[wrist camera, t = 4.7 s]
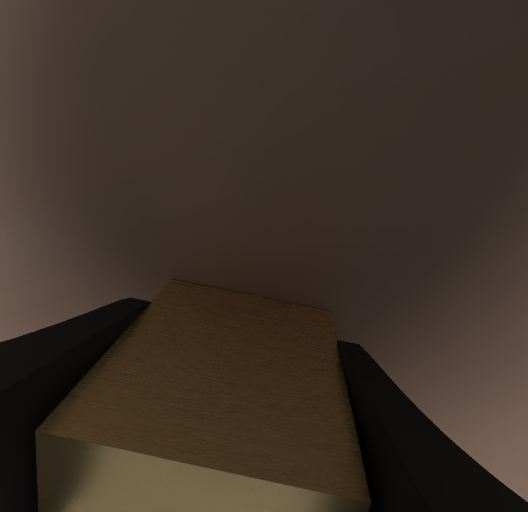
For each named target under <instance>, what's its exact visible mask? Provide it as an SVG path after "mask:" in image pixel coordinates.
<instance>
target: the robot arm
mask: <svg viewBox="0 0 528 512" xmlns="http://www.w3.org/2000/svg"><path fill="white" fill-rule="evenodd" d="M150 304H151V302H149V301H145V300H140V299H135V298H126V299H123V300H120V301H117V302H114V303H111V304H109V305H106V306H103V307H101V308H98V309H95V310H93V311H90V312H88V313H85V314H82V315H80V316H77V317H74V318H72V319H69V320H66V321H64V322H61V323H58V324H55V325H52V326H49V327H46V328H43V329H41V330H38V331H35V332H32V333H29V334H26V335H23V336H20V337H17V338H14V339H10V340H7V341H4V342H0V512H38V487H37V461H36V436H35V431H36V429H37V428H38V427H39V426H40V425H41V424H42V423H43V422H44V421H45V419H46V418H47V417H48V416H49V415H50V414H51V413H52V412H53V411H54V409H55V408H56V407H57V406H58V405H59V404H60V403H61V402H62V401H63V399H64V398H65V397H66V396H67V395H68V394H69V393H70V392H71V391H72V389H73V388H74V387H75V386H76V385H77V384H78V383H79V382H80V381H81V379H82V378H83V377H84V376H85V375H86V374H87V373H88V372H89V371H90V369H91V368H92V367H93V366H94V365H95V364H96V363H97V362H98V361H99V359H100V358H101V357H102V356H103V355H104V354H105V353H106V352H107V351H108V349H109V348H110V347H111V346H112V345H113V344H114V343H115V342H116V341H117V339H118V338H119V337H120V336H121V335H122V334H123V333H124V332H125V331H126V330H127V328H128V327H129V326H130V325H131V324H132V323H133V322H134V321H135V320H136V319H137V318H138V317H139V316H140V315H141V314H142V312H143V311H144V310H145V309H146V308H147V307H148V306H149V305H150ZM337 344H338V349H339V354H340V359H341V364H342V367H343V370H344V375H345V380H346V384H347V389H348V394H349V399H350V404H351V408H352V413H353V418H354V423H355V427H356V432H357V437H358V442H359V447H360V451H361V456H362V461H363V466H364V471H365V475H366V480H367V485H368V490H369V495H370V499H371V506H370V508H369V511H368V512H528V502H527V501H525V500H524V499H523V498H521V497H520V496H519V495H517V494H516V493H515V492H513V491H512V490H511V489H509V488H508V487H507V486H505V485H504V484H503V483H502V482H500V481H499V480H498V479H497V478H495V477H494V476H493V475H492V474H490V473H489V472H488V471H487V470H486V469H484V468H483V467H482V466H481V465H480V464H478V463H477V462H476V461H475V460H474V459H473V458H471V457H470V456H469V455H468V454H467V453H466V452H464V451H463V450H462V449H461V448H460V447H459V446H457V445H456V444H455V443H454V442H453V441H452V440H451V439H450V438H449V437H447V436H446V435H445V434H444V433H443V432H442V431H441V430H440V429H439V428H438V427H437V426H436V425H435V424H434V423H433V422H432V421H431V420H430V419H429V418H428V417H427V416H426V415H425V414H424V413H423V412H422V411H421V410H420V409H419V408H418V407H417V406H416V405H415V404H414V403H413V402H412V401H411V400H410V399H409V398H408V397H407V396H406V395H405V394H404V393H403V392H402V391H401V390H400V388H399V387H398V386H397V385H396V384H395V383H394V382H393V381H392V380H391V379H390V378H389V376H388V375H387V374H386V373H385V372H384V371H383V370H382V369H381V367H380V366H379V365H378V364H377V363H376V362H375V361H374V360H373V358H372V357H371V356H370V355H369V354H368V353H367V352H366V351H365V350H364V349H363V348H362V347H361V346H360V345H359V344H354V343H349V342H345V341H340V340H337Z"/></svg>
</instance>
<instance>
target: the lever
mask: <svg viewBox="0 0 528 512" xmlns="http://www.w3.org/2000/svg"><path fill="white" fill-rule="evenodd" d="M35 436H36V461H37V487H38V512H368V511H369V508H370V506H371V499H370V495H369V490H368V485H367V480H366V475H365V471H364V466H363V461H362V456H361V451H360V447H359V442H358V437H357V432H356V427H355V423H354V418H353V413H352V408H351V404H350V399H349V394H348V389H347V384H346V380H345V375H344V370H343V367H342V364H341V359H340V354H339V349H338V344H337V336H336V332H335V327H334V322H333V317H332V312H331V311H326V310H321V309H317V308H312V307H307V306H302V305H297V304H292V303H287V302H282V301H277V300H272V299H267V298H262V297H258V296H253V295H248V294H243V293H238V292H233V291H228V290H223V289H218V288H213V287H208V286H203V285H198V284H194V283H189V282H184V281H179V280H174V279H172V280H171V281H170V282H169V283H168V284H167V285H166V286H165V287H164V288H163V290H162V291H161V292H160V293H159V294H158V295H157V296H156V297H155V298H154V300H153V301H152V302H151V304H150V305H149V306H148V307H147V308H146V309H145V310H144V311H143V312H142V314H141V315H140V316H139V317H138V318H137V319H136V320H135V321H134V322H133V323H132V324H131V325H130V326H129V327H128V328H127V330H126V331H125V332H124V333H123V334H122V335H121V336H120V337H119V338H118V339H117V341H116V342H115V343H114V344H113V345H112V346H111V347H110V348H109V349H108V351H107V352H106V353H105V354H104V355H103V356H102V357H101V358H100V359H99V361H98V362H97V363H96V364H95V365H94V366H93V367H92V368H91V369H90V371H89V372H88V373H87V374H86V375H85V376H84V377H83V378H82V379H81V381H80V382H79V383H78V384H77V385H76V386H75V387H74V388H73V389H72V391H71V392H70V393H69V394H68V395H67V396H66V397H65V398H64V399H63V401H62V402H61V403H60V404H59V405H58V406H57V407H56V408H55V409H54V411H53V412H52V413H51V414H50V415H49V416H48V417H47V418H46V419H45V421H44V422H43V423H42V424H41V425H40V426H39V427H38V428H37V429H36V431H35Z"/></svg>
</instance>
